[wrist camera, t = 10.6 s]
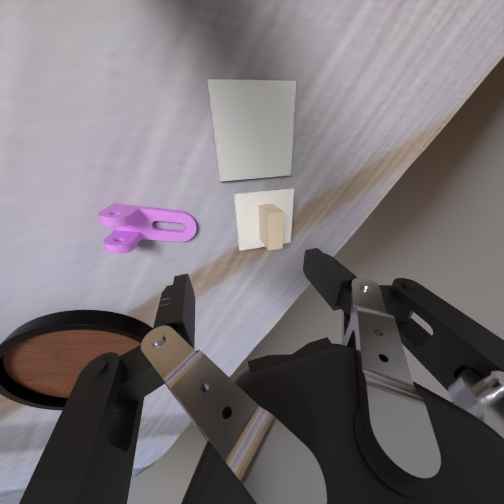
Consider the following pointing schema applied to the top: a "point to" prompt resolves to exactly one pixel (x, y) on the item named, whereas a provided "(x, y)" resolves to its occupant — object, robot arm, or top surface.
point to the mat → (252, 127)
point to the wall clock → (61, 353)
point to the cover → (264, 218)
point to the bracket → (142, 226)
